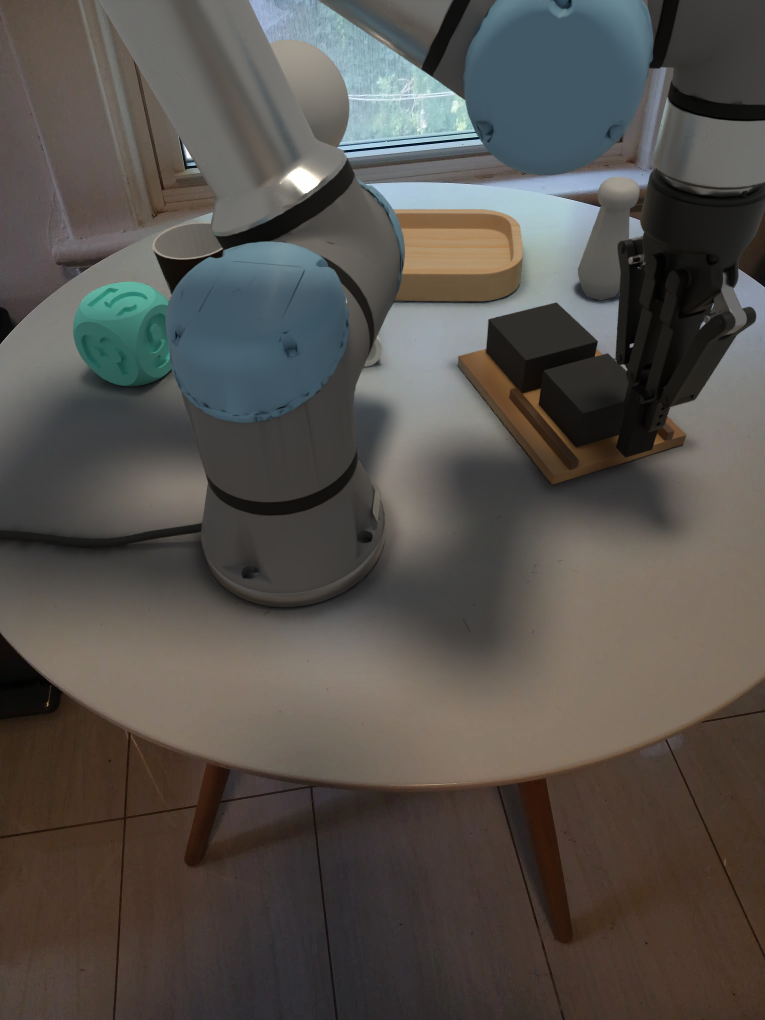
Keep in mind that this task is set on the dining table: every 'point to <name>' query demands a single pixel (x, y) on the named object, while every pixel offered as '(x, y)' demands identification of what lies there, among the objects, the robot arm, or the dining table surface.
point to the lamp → (427, 232)
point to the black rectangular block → (585, 398)
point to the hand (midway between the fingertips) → (633, 448)
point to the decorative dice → (124, 333)
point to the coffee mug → (184, 250)
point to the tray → (549, 425)
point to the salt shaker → (607, 238)
